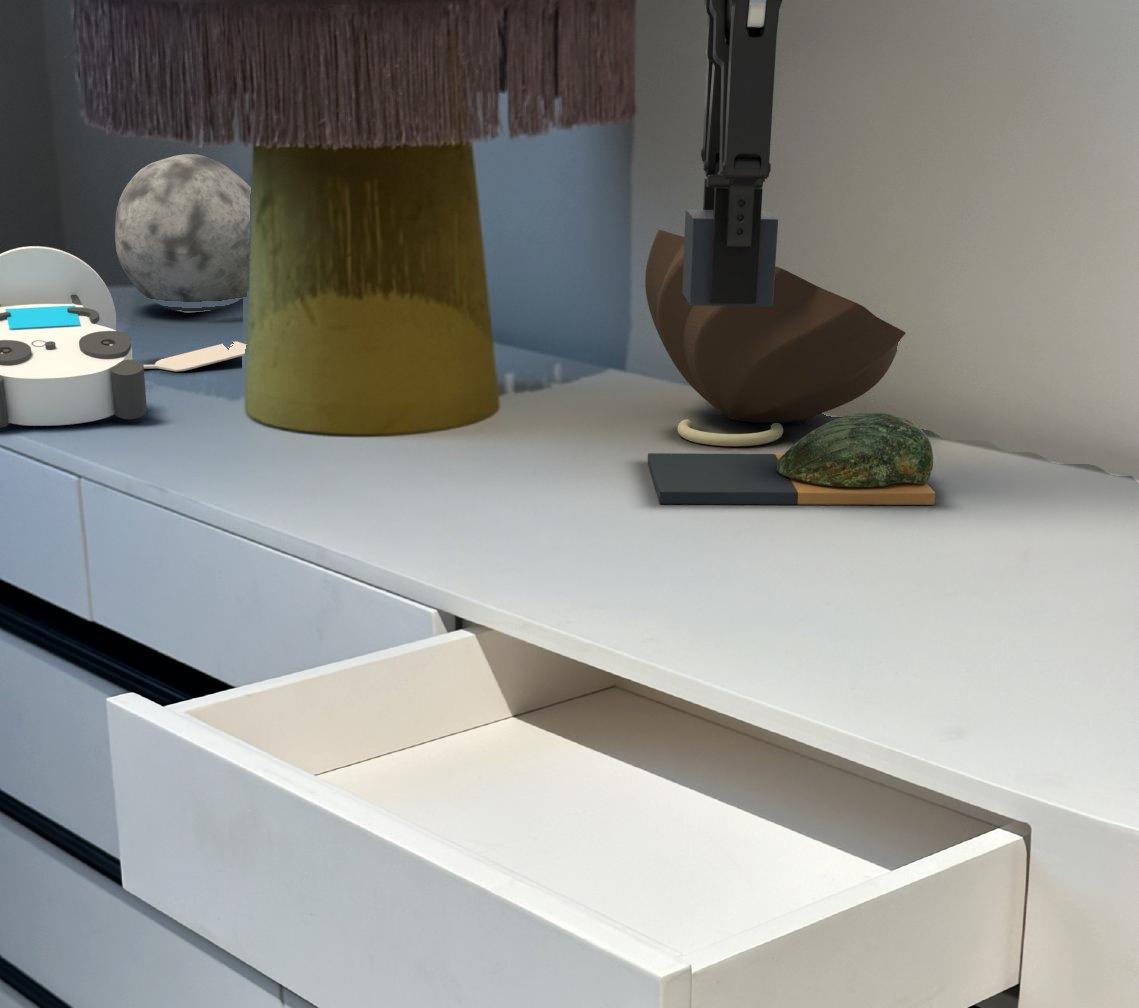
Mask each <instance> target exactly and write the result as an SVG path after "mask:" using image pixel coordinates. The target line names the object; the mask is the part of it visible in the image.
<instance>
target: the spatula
mask: <svg viewBox="0 0 1139 1008" xmlns="http://www.w3.org/2000/svg"><path fill="white" fill-rule="evenodd" d="M232 342H233V343H234V344H231V345H230V346H232V345H233V346H232V347H230V348H229V347H228V348H229V350H228V349H227V348H226V347H225V346H224V345H223V343H221V344H216V345H212V346H207V347H204V348H201V349H195V350H192V351H188V352H184V353H181V354H176V355H173V356H169V357H165V358H161V359H159V360H157V361H156V362H155V363H154V364H143V365H144V369H159V370H165V371H172V372H185V371H189V370H193V369H197V368H201V367H204V366H205V367H206V366H208V365H213V364H217V363H220V362H224V361H229V360H232V359H235V358H239V357H243V356H246V355H245V349H246V345H247V344H246V343H243V342H241V341H237V340H236V341H232Z"/></svg>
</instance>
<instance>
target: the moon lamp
mask: <svg viewBox="0 0 1139 1008" xmlns="http://www.w3.org/2000/svg"><path fill="white" fill-rule="evenodd" d="M251 188H252V187H251V186H250V185H249V184H248V183H247V182H246V181H245V180H244V179H243V178H242V177H241V176H240V175H238V174H237V173H235V172H234V171H233V170H232V169H230V168H229V167H228V166H226V165H225V164H223V163H221V162H219V161H217V160H215V159H212V158H209V157H207V156H204V155H201V154H193V153H192V154H190V153H185V154H179V155H173V156H170V157H166V158H163V159H159V160H157V161H154V162H151V163H149V164H147V165H145V166H144V167H142V168H141V169H140V170H138V172H136V173H135V175H133V177H132V178H131V179H130V181H128V183H127V184H126V186H125V188H124V189H123V191H122V192H121V195H120V197H119V200H118V204H117V207H116V211H115V218H114V220H115V221H114V226H115V227H114V239H115V240H114V241H115V242H114V243H115V251H116V254H117V259H118V261H119V264H120V266H121V268H122V269H123V271H124V273H125V274H126V276H127V277H128V279H129V281H130V282H131V284H132V285H133V286H134V287H135V288H136V290H137V291H139V293H141V294H142V295H143V296H144V297H145V298H147V299H148V298H150V299H156V300H164V301H181V302H182V301H183V302H202V301H222V300H228V299H235V298H243V297H245V298H247V297H248V296H247V289H248V257H249V244H250V194H251ZM150 299H149V300H150ZM243 299H244V298H243ZM232 305H233V304H231V305H225V306H215V307H202V308H182V307H168V306H161V305H159V306H160V307H162V308H164V309H167V308H168V310H170V309H172V310H171V311H173V310H182V311H204V310H214V311H216V310H215V309H218V310H220V309H219V308H221V309H225V308H228V307H230V306H232Z"/></svg>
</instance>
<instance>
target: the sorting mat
mask: <svg viewBox="0 0 1139 1008" xmlns="http://www.w3.org/2000/svg"><path fill="white" fill-rule="evenodd" d="M784 454H785V453H776V454H775V453H688V452H687V453H685V452H684V453H682V452H681V453H680V452H675V453H672V452H670V453H669V452H666V453H665V452H657V453H656V452H655V453H654V452H650V453H647V467H648V470H649V474H650V477H651V480H652V484H653V487H654V490H655V494H656V498H657V500H658V503H659V505H827V506H829V505H830V506H831V505H834V506H835V505H840V506H841V505H842V506H843V505H844V506H845V505H846V506H847V505H850V506H851V505H852V506H853V505H855V506H858V505H861V506H863V505H865V506H866V505H868V506H869V505H870V506H875V505H876V506H879V505H880V506H934V505H935V501H936V492H935V491H934V489H933V488H931V486H930V485H929V484H928V482H927V483H926V484H924V485H916V484H911V483H898V484H890V485H887V486H884V487H878V486H876V487H844V486H828V485H819V484H813V483H808V482H804V481H800V480H796V479H792V478H789V477H787V476H785V475H782V474H780V473H779V472H777V470H776V469H775V468H776V463H777V461H778V460H779V459H780V458H781V457H782V456H783V455H784Z"/></svg>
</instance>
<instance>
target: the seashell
mask: <svg viewBox="0 0 1139 1008" xmlns="http://www.w3.org/2000/svg"><path fill="white" fill-rule="evenodd" d="M783 454H784V455H783V456H782V457H781V458H780V459H779V460H778V461H777V463H776V468H775V469H776V470H777V472H779V473H780V474H782V475H785V476H787V477H789V478H792V479H796V480H800V481H804V482H808V483H813V484H819V485H828V486H844V487H876V486H878V487H884V486H887V485H890V484H898V483H911V484H916V485H924V484H926V483H927V484H928V481H929V480H930V478H931V475H932V472H933V469H934V453H933V447H932V443H931V441H930V439H929V437H928V436H927V435H926V433H925V432H924V431H923V430H922V429H921V427H919V426H918V425H916V424H915V423H914V422H912V421H910V420H908V419H906V418H905V417H901V416H898V415H895V414H891V413H885V412H868V413H854V414H849V415H845V416H844V415H843V416H841V417H838V418H836V419H832V420H830V421H827V422H826V423H824V424H822V425H820V426H818V427H817V428H815V429H813V430H811V431H810V432H808V433H807V434H805V435H804V436H802V437H801V438H800V439H799V440H798V441H796V442H795V443H794V444H793V445H792V446H791V447H789V449H788V450H786V451H785V453H783Z"/></svg>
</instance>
